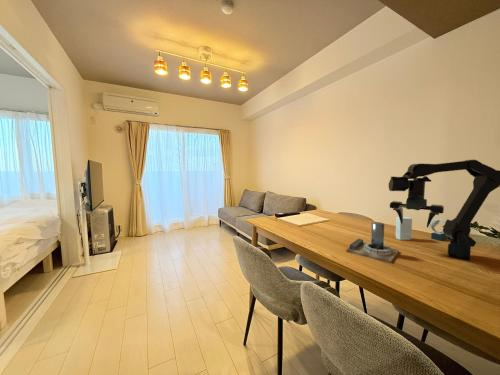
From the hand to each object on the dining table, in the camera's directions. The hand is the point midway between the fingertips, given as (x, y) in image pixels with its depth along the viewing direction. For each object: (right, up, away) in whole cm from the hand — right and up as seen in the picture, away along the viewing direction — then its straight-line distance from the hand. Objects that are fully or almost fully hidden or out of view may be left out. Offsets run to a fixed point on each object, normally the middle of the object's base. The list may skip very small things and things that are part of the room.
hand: (414, 225), depth 94 cm
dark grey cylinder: (-16, -12, +2) cm, 20 cm away
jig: (-17, -13, +3) cm, 22 cm away
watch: (+28, -11, +18) cm, 35 cm away
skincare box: (+10, -11, +20) cm, 25 cm away
